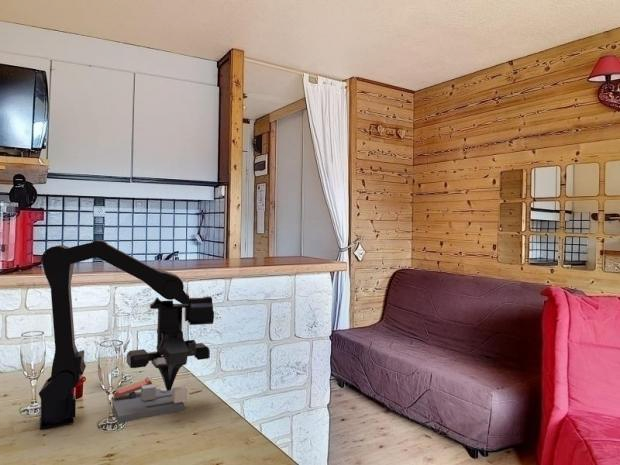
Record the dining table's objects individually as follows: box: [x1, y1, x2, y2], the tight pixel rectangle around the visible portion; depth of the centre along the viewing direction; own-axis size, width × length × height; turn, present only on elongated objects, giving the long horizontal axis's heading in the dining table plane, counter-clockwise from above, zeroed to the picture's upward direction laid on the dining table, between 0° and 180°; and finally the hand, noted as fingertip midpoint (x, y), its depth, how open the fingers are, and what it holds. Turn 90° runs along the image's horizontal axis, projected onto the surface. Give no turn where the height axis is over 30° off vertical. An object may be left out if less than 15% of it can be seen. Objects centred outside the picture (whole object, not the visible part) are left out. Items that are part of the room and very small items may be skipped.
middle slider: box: [140, 383, 157, 401], centre depth 114 cm, size 3×2×3 cm
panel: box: [112, 386, 186, 423], centre depth 114 cm, size 15×14×3 cm
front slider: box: [171, 385, 188, 403], centre depth 113 cm, size 3×2×3 cm
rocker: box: [113, 377, 153, 398], centre depth 116 cm, size 9×3×1 cm, turn 121°
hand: (168, 390), depth 112 cm, fingers closed
